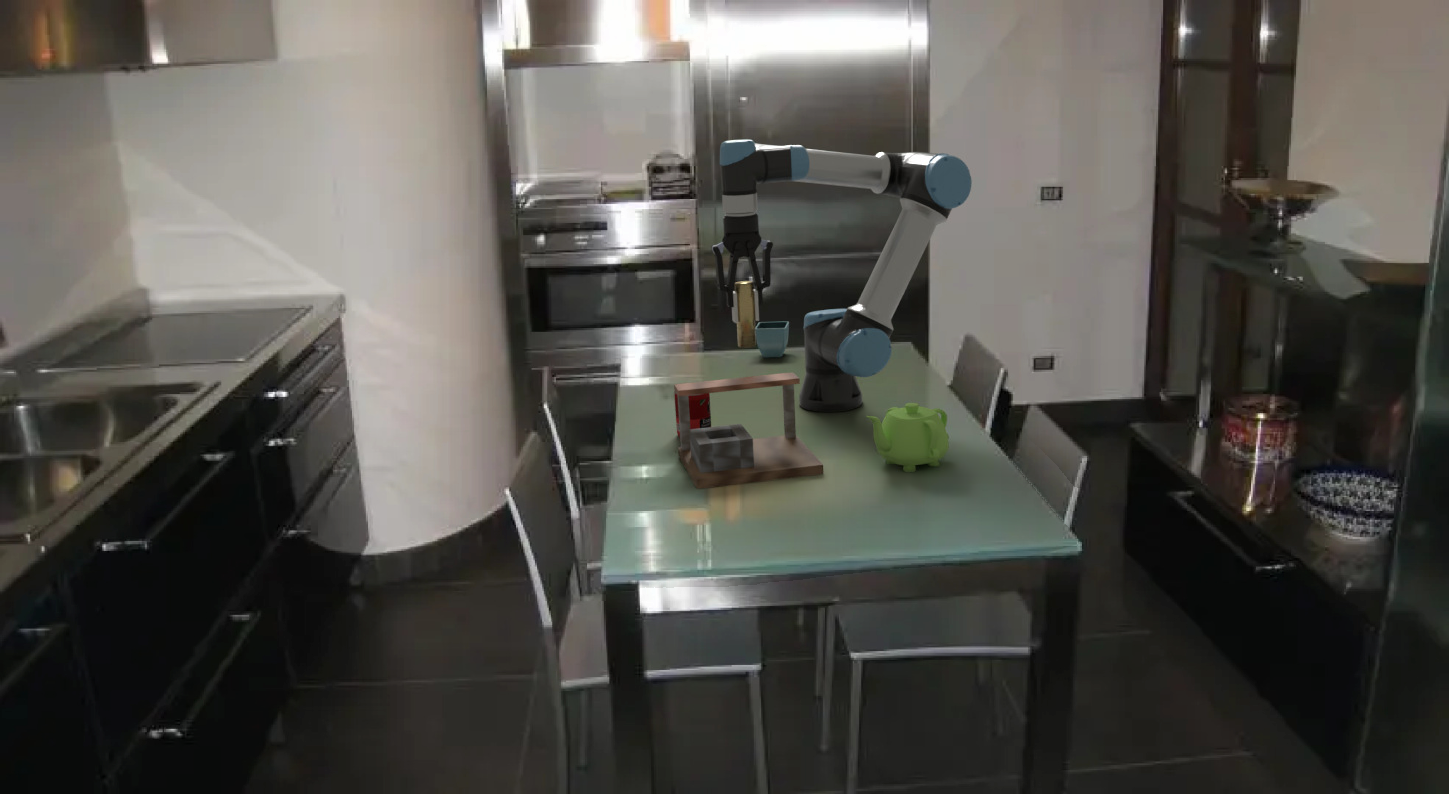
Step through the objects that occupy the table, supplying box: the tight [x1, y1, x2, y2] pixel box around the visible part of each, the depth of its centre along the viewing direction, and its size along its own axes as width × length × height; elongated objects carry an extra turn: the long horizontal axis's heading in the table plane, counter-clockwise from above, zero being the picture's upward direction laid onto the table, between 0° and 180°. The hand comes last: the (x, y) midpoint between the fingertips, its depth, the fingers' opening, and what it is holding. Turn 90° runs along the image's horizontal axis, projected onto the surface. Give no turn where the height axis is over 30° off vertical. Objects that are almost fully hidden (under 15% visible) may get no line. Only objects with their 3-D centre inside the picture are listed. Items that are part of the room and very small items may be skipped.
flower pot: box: [755, 321, 790, 359], centre depth 348 cm, size 9×9×9 cm
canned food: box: [673, 389, 712, 438], centre depth 278 cm, size 8×8×11 cm
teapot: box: [866, 402, 950, 473], centre depth 250 cm, size 16×14×13 cm
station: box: [673, 371, 824, 490], centre depth 255 cm, size 26×22×16 cm
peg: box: [734, 280, 757, 349], centre depth 269 cm, size 4×4×14 cm
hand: (745, 320), depth 270 cm, fingers closed on peg, 4 cm apart
